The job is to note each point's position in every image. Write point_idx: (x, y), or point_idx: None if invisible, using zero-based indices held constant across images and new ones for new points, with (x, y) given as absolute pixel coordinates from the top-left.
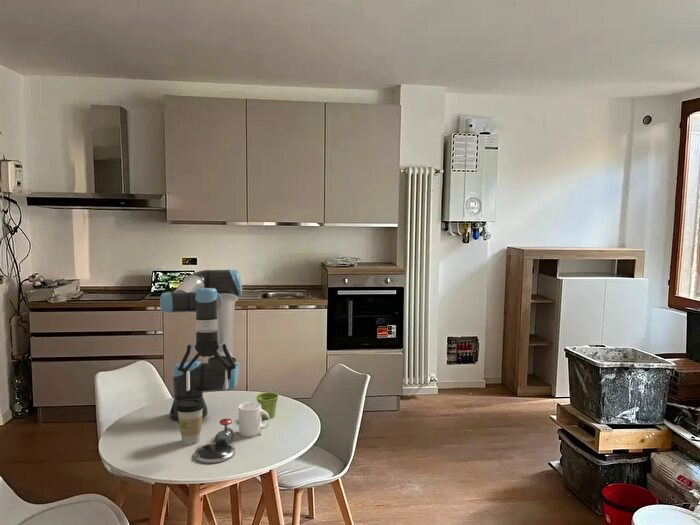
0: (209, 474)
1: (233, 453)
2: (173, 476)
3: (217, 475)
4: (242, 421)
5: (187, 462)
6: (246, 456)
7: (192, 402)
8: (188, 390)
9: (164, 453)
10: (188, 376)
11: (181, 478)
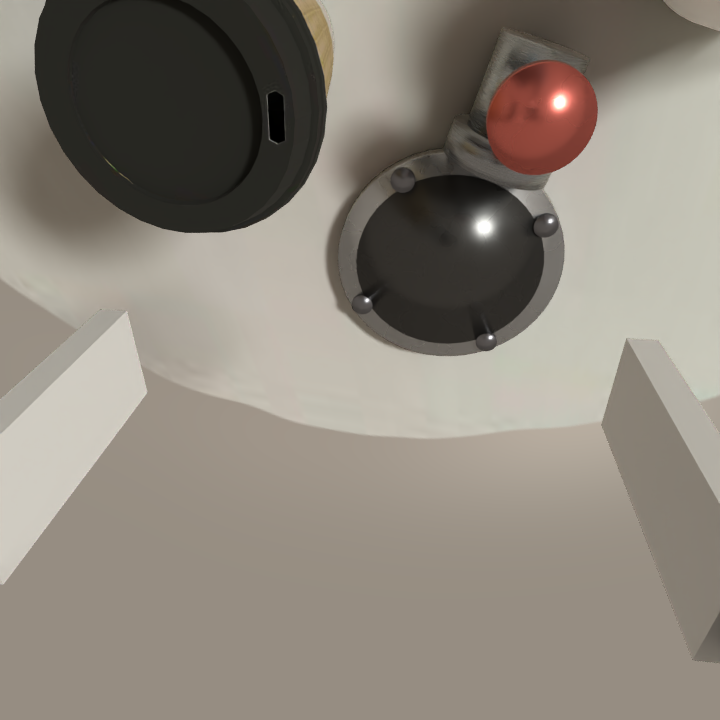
0: (431, 422)
1: (549, 300)
2: (291, 410)
3: (464, 434)
4: (703, 12)
5: (320, 314)
6: (615, 308)
7: (185, 69)
8: (142, 397)
9: None
10: (41, 530)
11: (326, 428)
